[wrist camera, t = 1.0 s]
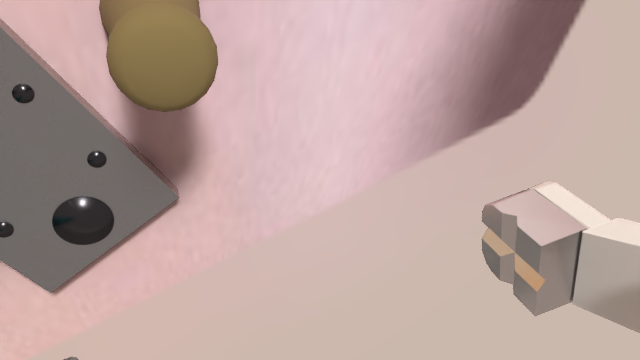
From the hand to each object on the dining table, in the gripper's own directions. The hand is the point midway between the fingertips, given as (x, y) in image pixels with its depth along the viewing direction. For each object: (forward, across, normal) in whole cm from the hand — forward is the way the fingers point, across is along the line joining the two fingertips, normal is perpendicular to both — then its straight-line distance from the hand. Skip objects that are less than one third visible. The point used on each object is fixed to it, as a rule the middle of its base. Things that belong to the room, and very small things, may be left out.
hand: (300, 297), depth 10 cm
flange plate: (+29, +12, +8) cm, 32 cm away
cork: (+29, +1, +1) cm, 29 cm away
